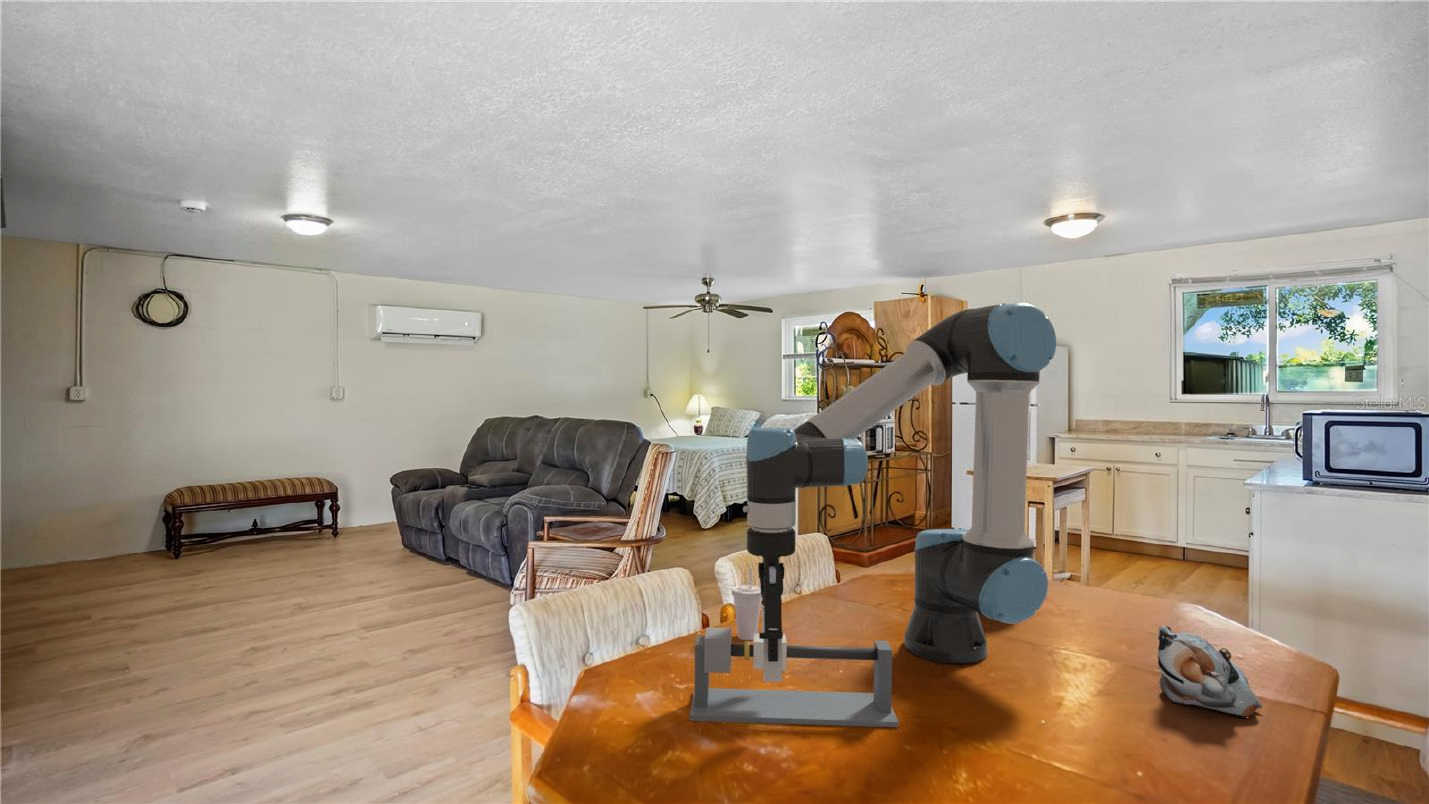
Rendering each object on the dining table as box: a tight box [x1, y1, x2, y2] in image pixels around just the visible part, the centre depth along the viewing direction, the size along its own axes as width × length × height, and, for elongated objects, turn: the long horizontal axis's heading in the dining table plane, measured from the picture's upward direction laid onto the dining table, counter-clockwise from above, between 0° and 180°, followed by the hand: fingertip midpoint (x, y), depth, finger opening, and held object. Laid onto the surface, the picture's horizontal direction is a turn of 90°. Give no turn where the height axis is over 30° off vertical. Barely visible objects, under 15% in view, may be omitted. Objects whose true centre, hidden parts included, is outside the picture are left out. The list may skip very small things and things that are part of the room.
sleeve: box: [752, 632, 788, 671], centre depth 113 cm, size 5×4×4 cm
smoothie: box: [731, 566, 762, 641], centre depth 146 cm, size 6×6×14 cm
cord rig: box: [689, 626, 900, 728], centre depth 113 cm, size 31×10×12 cm, turn 87°
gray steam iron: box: [1157, 625, 1263, 718], centre depth 116 cm, size 15×12×14 cm
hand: (771, 663), depth 114 cm, fingers open, 13 cm apart
